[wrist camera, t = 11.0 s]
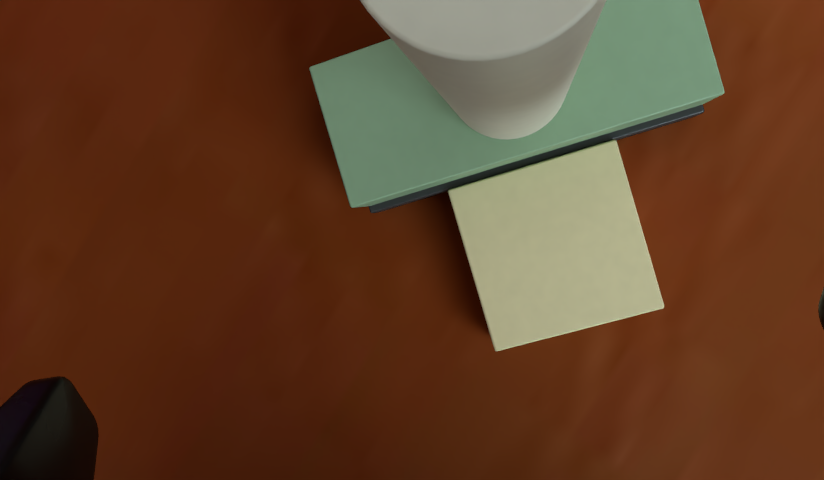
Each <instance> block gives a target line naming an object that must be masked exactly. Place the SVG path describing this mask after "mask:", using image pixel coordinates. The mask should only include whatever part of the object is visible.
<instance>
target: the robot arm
mask: <svg viewBox="0 0 824 480" xmlns="http://www.w3.org/2000/svg"><path fill="white" fill-rule="evenodd" d="M819 318H820V322H821V324H822V327H823V329H824V289H823V292H822V295H821V298H820V302H819ZM97 446H98V427H97V423H96V420H95V418H94V416H93V414H92V413H91V411H90V410H89V408H88V407H87V405H86V404H85V402H84V401H83V399H82V398H81V396H80V395H79V393H78V392H77V390H76V389H75V387H74V385H73V384H72V383H71V381H70V380H68V379H67V378H65V377H60V376H58V377H51V378H45V379H39V380H33V381H30V382H28V383H26V384H24V385H23V386H22V387H21V388H20V389H19V390H18V391H17V392H16V393H14V394H13V395H12V396H11V397H10V398H9V399H8V400H7V401H6V402H5V403H4V404H3V405H2V406H1V407H0V480H94V472H95V463H96V455H97Z"/></svg>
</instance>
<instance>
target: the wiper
mask: <svg viewBox="0 0 824 480" xmlns="http://www.w3.org/2000/svg"><path fill="white" fill-rule="evenodd" d="M360 1H361V3H362V4H363V6H364V7H365V8H366V10H367V11H368V12H369V14H370V15H371V16H372V17H373V18H374V19H375V20H376V22H377V23H378V24H379V25H380V26H381V27H382V28H383V30H384V31H385V32H386V33H387V34H388V35H389V36H390V38H391V39H388V40H386V41H383V42H380V43H377V44H374V45H371V46H368V47H365V48H363V49H360V50H357V51H354V52H351V53H348V54H345V55H342V56H340V57H337V58H334V59H331V60H328V61H325V62H322V63H319V64H317V65H314V66H311V67H310V68H309V70H310V73H311V76H312V80H313V83H314V86H315V90H316V93H317V96H318V100H319V103H320V107H321V110H322V113H323V117H324V120H325V123H326V127H327V130H328V133H329V137H330V140H331V143H332V147H333V150H334V153H335V157H336V160H337V164H338V167H339V170H340V174H341V177H342V180H343V184H344V187H345V190H346V194H347V197H348V200H349V204H350V207H352V208H354V207H365V206H369V209H370V212H371V213H376V212H381V211H385V210H388V209H391V208H395V207H398V206H401V205H405V204H408V203H411V202H414V201H418V200H421V199H424V198H428V197H431V196H434V195H438V194H441V193H444V192H447V191H448V190H450V189H453V188H456V187H460V186H463V185H466V184H470V183H473V182H476V181H479V180H483V179H486V178H489V177H493V176H496V175H499V174H503V173H506V172H509V171H512V170H516V169H519V168H522V167H526V166H529V165H532V164H536V163H539V162H542V161H545V160H549V159H552V158H555V157H559V156H562V155H565V154H568V153H572V152H575V151H578V150H582V149H585V148H588V147H592V146H595V145H598V144H601V143H605V142H608V141H611V140H619V139H622V138H626V137H629V136H632V135H636V134H639V133H642V132H645V131H649V130H652V129H655V128H659V127H662V126H665V125H669V124H672V123H675V122H678V121H682V120H685V119H688V118H692V117H695V116H697V115H699V114H701V113H703V112H704V108H703V104H704V103H706V102H708V101H710V100H712V99H714V98H716V97H718V96H720V95H722V94H724V88H723V85H722V81H721V78H720V74H719V71H718V67H717V64H716V60H715V57H714V53H713V50H712V46H711V43H710V39H709V36H708V32H707V29H706V25H705V22H704V18H703V15H702V11H701V8H700V4H699V1H698V0H360Z"/></svg>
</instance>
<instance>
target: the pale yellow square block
mask: <svg viewBox="0 0 824 480" xmlns="http://www.w3.org/2000/svg"><path fill="white" fill-rule="evenodd" d="M448 194H449V197H450V201H451V204H452V207H453V211H454V214H455V217H456V221H457V224H458V228H459V231H460V234H461V238H462V241H463V245H464V248H465V251H466V255H467V258H468V261H469V265H470V268H471V272H472V275H473V278H474V282H475V285H476V289H477V292H478V295H479V299H480V302H481V305H482V309H483V312H484V316H485V319H486V322H487V326H488V329H489V333H490V336H491V339H492V343H493V346H494V350H495V351H500V350H504V349H508V348H512V347H516V346H520V345H523V344H527V343H531V342H535V341H539V340H543V339H547V338H551V337H554V336H558V335H562V334H566V333H570V332H574V331H578V330H582V329H585V328H589V327H593V326H597V325H601V324H605V323H609V322H612V321H616V320H620V319H624V318H628V317H632V316H636V315H640V314H643V313H647V312H651V311H655V310H659V309H663V308H664V303H663V300H662V297H661V293H660V290H659V286H658V283H657V279H656V276H655V272H654V269H653V266H652V262H651V259H650V255H649V252H648V248H647V245H646V241H645V238H644V234H643V231H642V228H641V224H640V221H639V217H638V214H637V210H636V207H635V203H634V200H633V197H632V193H631V190H630V186H629V183H628V179H627V176H626V172H625V169H624V165H623V162H622V159H621V155H620V152H619V148H618V145H617V141H616V140H611V141H608V142H605V143H601V144H598V145H595V146H592V147H588V148H585V149H582V150H578V151H575V152H572V153H568V154H565V155H562V156H559V157H555V158H552V159H549V160H545V161H542V162H539V163H536V164H532V165H529V166H526V167H522V168H519V169H516V170H512V171H509V172H506V173H503V174H499V175H496V176H493V177H489V178H486V179H483V180H479V181H476V182H473V183H470V184H466V185H463V186H460V187H456V188H453V189H450V190H448Z"/></svg>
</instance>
